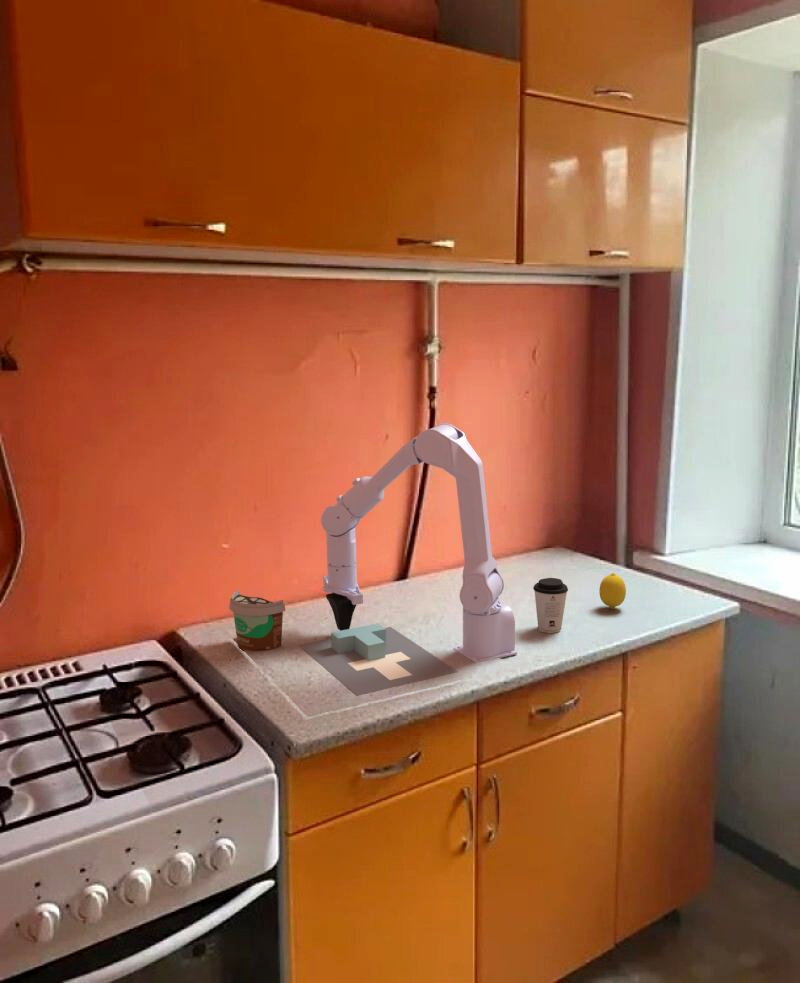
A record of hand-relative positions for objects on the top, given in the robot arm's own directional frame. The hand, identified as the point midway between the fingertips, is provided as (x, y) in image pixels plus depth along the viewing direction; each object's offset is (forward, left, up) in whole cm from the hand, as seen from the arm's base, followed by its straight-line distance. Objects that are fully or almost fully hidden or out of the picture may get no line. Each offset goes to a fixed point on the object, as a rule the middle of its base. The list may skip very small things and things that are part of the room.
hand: (343, 628), depth 177 cm
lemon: (-57, +14, -2) cm, 59 cm away
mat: (0, +14, -2) cm, 14 cm away
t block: (0, +10, -1) cm, 10 cm away
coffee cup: (-38, +17, -2) cm, 42 cm away
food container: (+18, -3, -2) cm, 18 cm away
